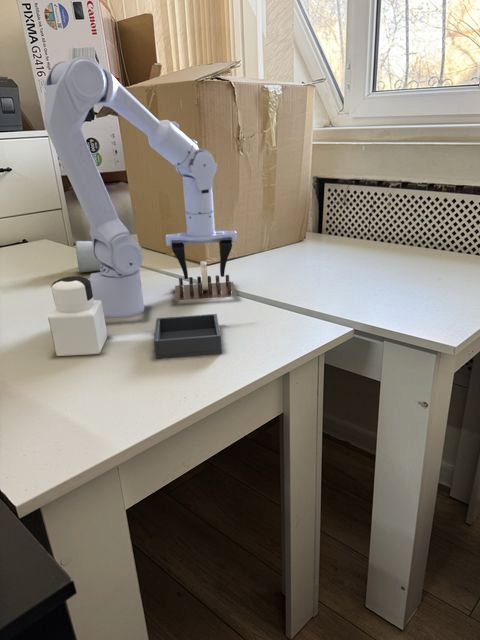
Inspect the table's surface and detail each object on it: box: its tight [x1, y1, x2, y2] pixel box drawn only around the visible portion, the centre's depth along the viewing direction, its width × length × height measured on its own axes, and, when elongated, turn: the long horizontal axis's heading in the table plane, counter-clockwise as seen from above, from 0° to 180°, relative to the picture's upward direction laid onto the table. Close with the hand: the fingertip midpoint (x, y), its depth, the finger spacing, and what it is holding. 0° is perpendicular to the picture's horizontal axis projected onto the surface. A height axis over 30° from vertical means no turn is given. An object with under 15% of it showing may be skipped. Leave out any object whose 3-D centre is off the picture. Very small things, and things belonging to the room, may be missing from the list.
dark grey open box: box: [153, 313, 223, 359], centre depth 87 cm, size 11×10×3 cm
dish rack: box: [174, 274, 238, 301], centre depth 110 cm, size 13×10×3 cm
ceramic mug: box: [75, 240, 101, 273], centre depth 128 cm, size 10×8×8 cm
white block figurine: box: [47, 275, 108, 357], centre depth 84 cm, size 7×7×12 cm
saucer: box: [199, 260, 208, 291], centre depth 108 cm, size 1×6×6 cm, turn 9°
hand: (204, 276), depth 109 cm, fingers open, 7 cm apart
